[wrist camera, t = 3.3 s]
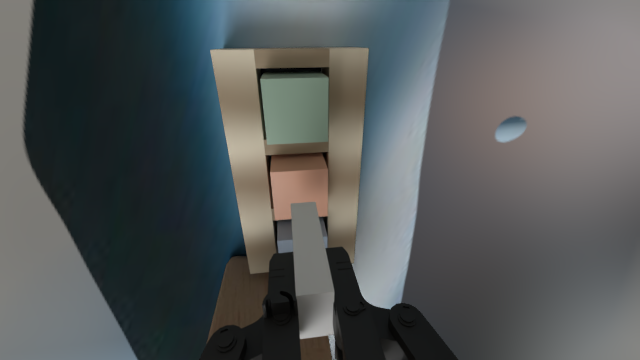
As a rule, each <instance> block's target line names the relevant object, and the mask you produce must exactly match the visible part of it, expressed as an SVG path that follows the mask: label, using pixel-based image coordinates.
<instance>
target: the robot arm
mask: <svg viewBox="0 0 640 360" xmlns="http://www.w3.org/2000/svg"><path fill="white" fill-rule="evenodd" d="M291 219H292V237H293V252H286V253H275V254H273V256H272V258H271V259H270V261H269V279H268V294H267V295H266V296H265V298H264V299H263V303H262V309H263V315H262V317H261V318H260V319H258V320H257V321H256V322H254V323H252V324H250V325H248V326H246V327H243V328H240V327H239V326H236V325H226V326H224V327H221V328H219V329H218V330H217V331H216V332H214V333H213V335H212V336H211V338H210V339H209V341H208V343H207V345H206V347H205V349H204V351H203V353H202V355H201V357H200V359H199V360H301V348H300V339H305V338H313V337H320V336H328V335H333V330H334V336H335V359H337V360H458V359H457V357H456V356H455V355H454V354H453V353H452V351H451V350H450V349H449V348H448V346H447V345H446V344H445V342H444V341H443V340H442V339H441V337H440V336H439V335H438V334H437V332H436V331H435V330H434V329H433V327H432V326H431V325H430V324H429V322H428V321H427V320H426V318H425V317H424V316H423V315H422V314H421V312H420V311H418V310H417V308H415V307H413V306H412V305H409V304H405V303H400V304H396V305H394V306H393V307H392V308H391V310H390V309H384V308H379V307H376V306H373V305H371V304H369V303H368V302H367V301H366V300H365V299H364V298H363V297H362V295H361V292H360V289H359V286H358V283H357V279H356V276H355V273H354V270H353V267H352V264H351V260H350V257H349V254H348V252H347V251H346V250H345V249H344V248H343V247H332V248H325V244H324V240H323V235H322V230H321V226H320V221H319V216H318V211H317V207H316V202H304V203H291Z"/></svg>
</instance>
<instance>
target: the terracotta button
mask: <svg viewBox="0 0 640 360" xmlns="http://www.w3.org/2000/svg"><path fill="white" fill-rule="evenodd" d="M270 177H271V186H272V196H273V205H274V215H275V220H285V219H291V203H304V202H316V207H317V211H318V216H319V217H322V216H328V168H327V165H326V162H325V160H324V157H323V154H322V152H316V153H298V154H280V155H272V156H271V168H270Z"/></svg>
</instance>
